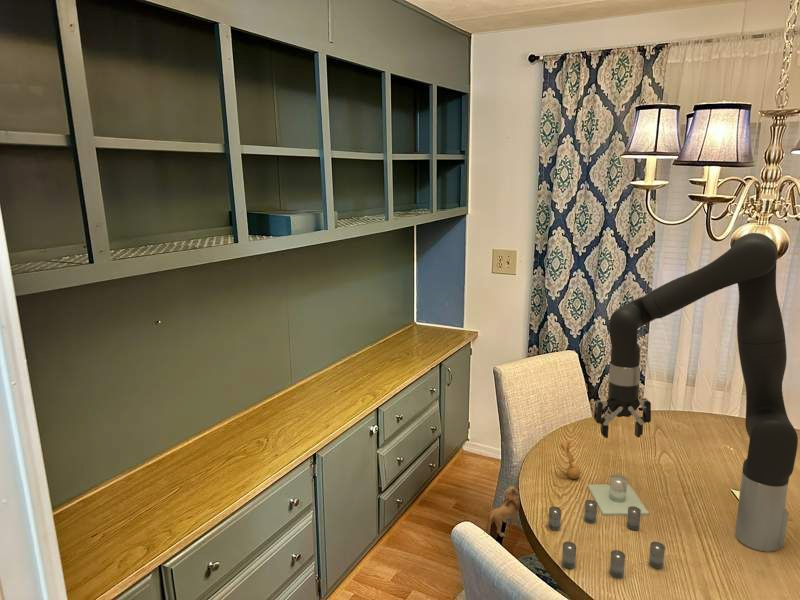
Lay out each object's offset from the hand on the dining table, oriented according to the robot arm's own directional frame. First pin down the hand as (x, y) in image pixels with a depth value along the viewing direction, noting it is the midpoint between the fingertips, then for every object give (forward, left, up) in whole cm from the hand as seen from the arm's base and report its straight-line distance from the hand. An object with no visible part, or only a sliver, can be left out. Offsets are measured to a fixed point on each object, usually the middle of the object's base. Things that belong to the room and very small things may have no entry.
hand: (621, 436), depth 148 cm
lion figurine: (+33, +12, -20) cm, 41 cm away
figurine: (+10, -12, -19) cm, 25 cm away
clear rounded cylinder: (0, 0, -19) cm, 19 cm away
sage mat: (0, 0, -19) cm, 19 cm away
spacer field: (+10, +19, -19) cm, 29 cm away
